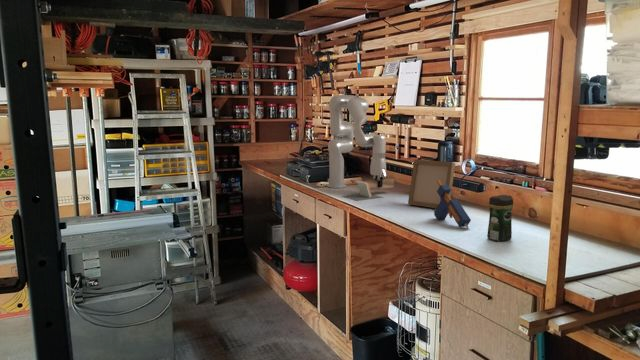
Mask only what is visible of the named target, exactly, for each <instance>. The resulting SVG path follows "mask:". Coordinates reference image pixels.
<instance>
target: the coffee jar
mask: <svg viewBox="0 0 640 360" xmlns="http://www.w3.org/2000/svg"><path fill="white" fill-rule="evenodd" d="M488 207H489V219H488V227H487V233H486V234H487V235H486V237H487V239H489V240H490V241H492V242H507V241H509V240H511V239H512V233H513V232H512V229H513V228H512V220H513V219H512V213H513V208H514V198H513V197H512V196H511V195H507V194H499V195H493V196H490V197H489V201H488Z"/></svg>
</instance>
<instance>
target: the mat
mask: <svg viewBox="0 0 640 360" xmlns="http://www.w3.org/2000/svg"><path fill="white" fill-rule="evenodd" d="M371 196H372V197H370V198H369V197H365V196H362V195H360V193H357V194H349V195H341V196H340V198H341V197H342V198H344V199H348V200H350V201H351V200H352V201H355V202H359V201H360V202H361V201H367V200H375V199H383V198H384V196H379V195H377V194H373V193H371Z"/></svg>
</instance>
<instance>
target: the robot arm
mask: <svg viewBox="0 0 640 360" xmlns="http://www.w3.org/2000/svg"><path fill="white" fill-rule="evenodd" d="M328 108H329V109H328V110H329V116H330V118H329V120H330V122H329V126H330V127H329V128H330V130H329V131H330V135H331V137H336V138H333V139H331V140H329V142H328V143H327V147H328V148H327V149H328V156H329V162H328V163H329V170H328V171H329V173H328V174H329V179H327V182H328V183H327V184H326V186H327V187H328V188H333V189H343V188H346V187H347V184H345V180H344V179H345V160H344V156H343V154H346V153H350V152H352V150H354V149H353V148H354V140H355V141H356V143H357V145H358V146H359V147H362V148H365V147H366V148H369V147H371V148H372V157H371V161H370V169H369V170H370V171H369V173H370V175H371V176H372V180H379V181H378V187H382V186H383V179H386V177H387V160H386V147H387V146H386V143H387V142H386V139H387V137H386V136H385V135H383V134H376V133H364V131H363V130H362V125H364V124H365V123H366V122H367V121H368V116H367V113H366V112H367V111H368V109H369V102H368V100H367V99H366V98H364V97H361V96H358V95H353V94H349V95H348V94H337V95H333V96H332V97H331V98H330V99H329V103H328ZM342 109H347V110H348V112H349V114H350V116H351V118H352V121H353V123H354V125H353V124H352V123H351V122H349V121H344V113H343V111H342ZM337 137H338V138H337ZM339 137H342V138H339Z"/></svg>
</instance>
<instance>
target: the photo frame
mask: <svg viewBox="0 0 640 360" xmlns="http://www.w3.org/2000/svg"><path fill="white" fill-rule="evenodd" d="M412 165H413V166H412V172H411V180H410V187H409V193H408V194H409V195H408V200H407V205H412V206H417V207H418V206H419V207H426V208H432V209H436V208H437V206H438V205H439V203H440V201H441V198H440V196H439V194H438V193H437V190H438V189H439V185H438V183H437V181H438V180H439V181H440V183H441V184H442V185H448V186H449V187H450V189H451V191H450V193H449V194H448V195H449V197H450V198H451V199H452V190H453V184H454V176H455V168H456V163H455V162H453V161H451V162H450V161H439V160H438V161H437V160H428V159H427V160H426V159H413V164H412Z"/></svg>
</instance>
